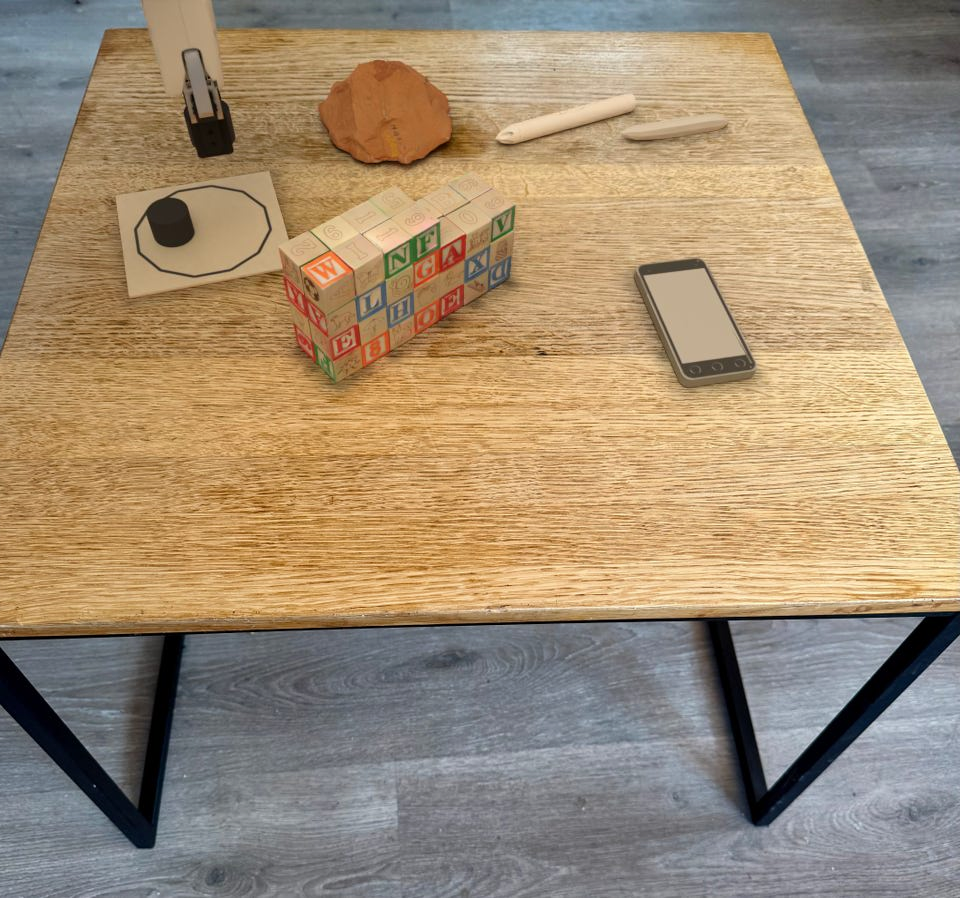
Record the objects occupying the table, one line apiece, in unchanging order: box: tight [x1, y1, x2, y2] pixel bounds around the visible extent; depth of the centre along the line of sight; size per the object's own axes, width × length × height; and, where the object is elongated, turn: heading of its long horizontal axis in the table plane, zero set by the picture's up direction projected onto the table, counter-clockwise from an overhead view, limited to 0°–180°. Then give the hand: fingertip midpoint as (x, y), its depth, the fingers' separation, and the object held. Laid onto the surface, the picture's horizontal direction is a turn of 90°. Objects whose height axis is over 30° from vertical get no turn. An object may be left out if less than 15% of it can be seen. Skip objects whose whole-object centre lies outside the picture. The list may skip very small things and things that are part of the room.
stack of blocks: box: [278, 171, 516, 383], centre depth 79 cm, size 21×6×12 cm, turn 131°
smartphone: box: [633, 257, 758, 388], centre depth 84 cm, size 7×1×15 cm
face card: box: [114, 170, 290, 299], centre depth 89 cm, size 16×15×1 cm
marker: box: [495, 92, 637, 145], centre depth 100 cm, size 18×2×2 cm, turn 116°
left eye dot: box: [146, 198, 195, 248], centre depth 87 cm, size 4×4×3 cm
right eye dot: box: [183, 97, 236, 149], centre depth 79 cm, size 4×4×3 cm
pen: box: [619, 112, 730, 141], centre depth 101 cm, size 2×14×2 cm, turn 107°
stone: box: [317, 59, 453, 165], centre depth 97 cm, size 15×15×10 cm
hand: (212, 136), depth 80 cm, fingers closed on right eye dot, 4 cm apart
